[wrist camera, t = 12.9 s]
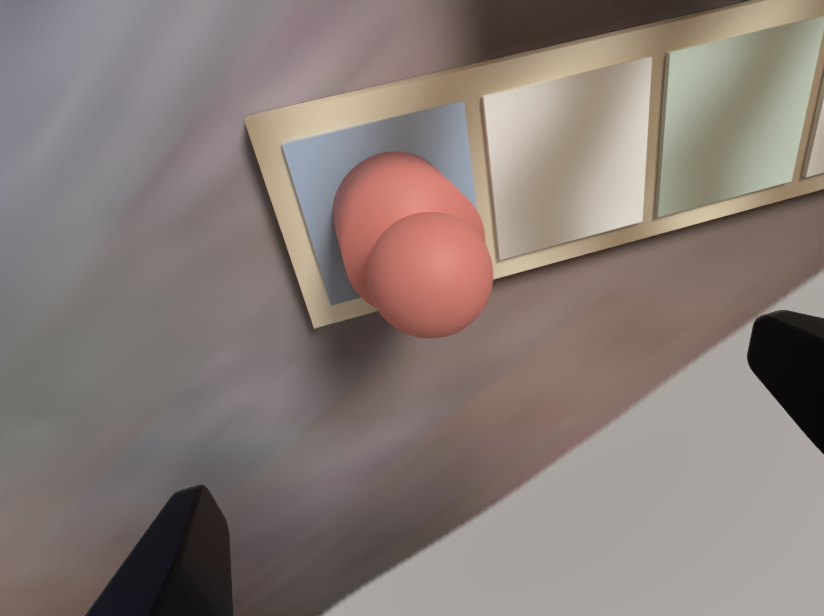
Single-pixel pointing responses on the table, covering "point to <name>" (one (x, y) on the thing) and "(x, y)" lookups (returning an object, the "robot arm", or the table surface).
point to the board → (570, 139)
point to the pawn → (412, 245)
